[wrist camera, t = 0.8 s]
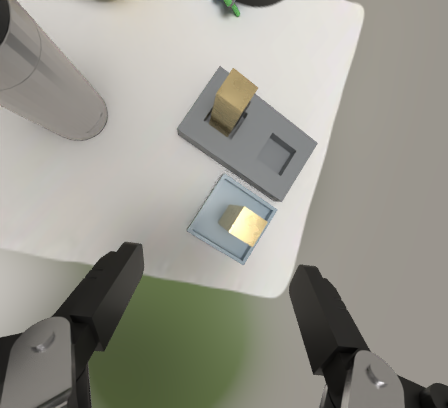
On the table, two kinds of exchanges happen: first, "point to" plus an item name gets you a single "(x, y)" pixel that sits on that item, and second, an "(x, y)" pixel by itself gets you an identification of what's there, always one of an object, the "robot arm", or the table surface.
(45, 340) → the robot arm
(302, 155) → the grey slotted fixture block
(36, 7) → the table surface
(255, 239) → the brass billet
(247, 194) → the light blue tray
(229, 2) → the blue and green toy
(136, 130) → the table surface
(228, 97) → the seated billet
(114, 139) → the table surface
